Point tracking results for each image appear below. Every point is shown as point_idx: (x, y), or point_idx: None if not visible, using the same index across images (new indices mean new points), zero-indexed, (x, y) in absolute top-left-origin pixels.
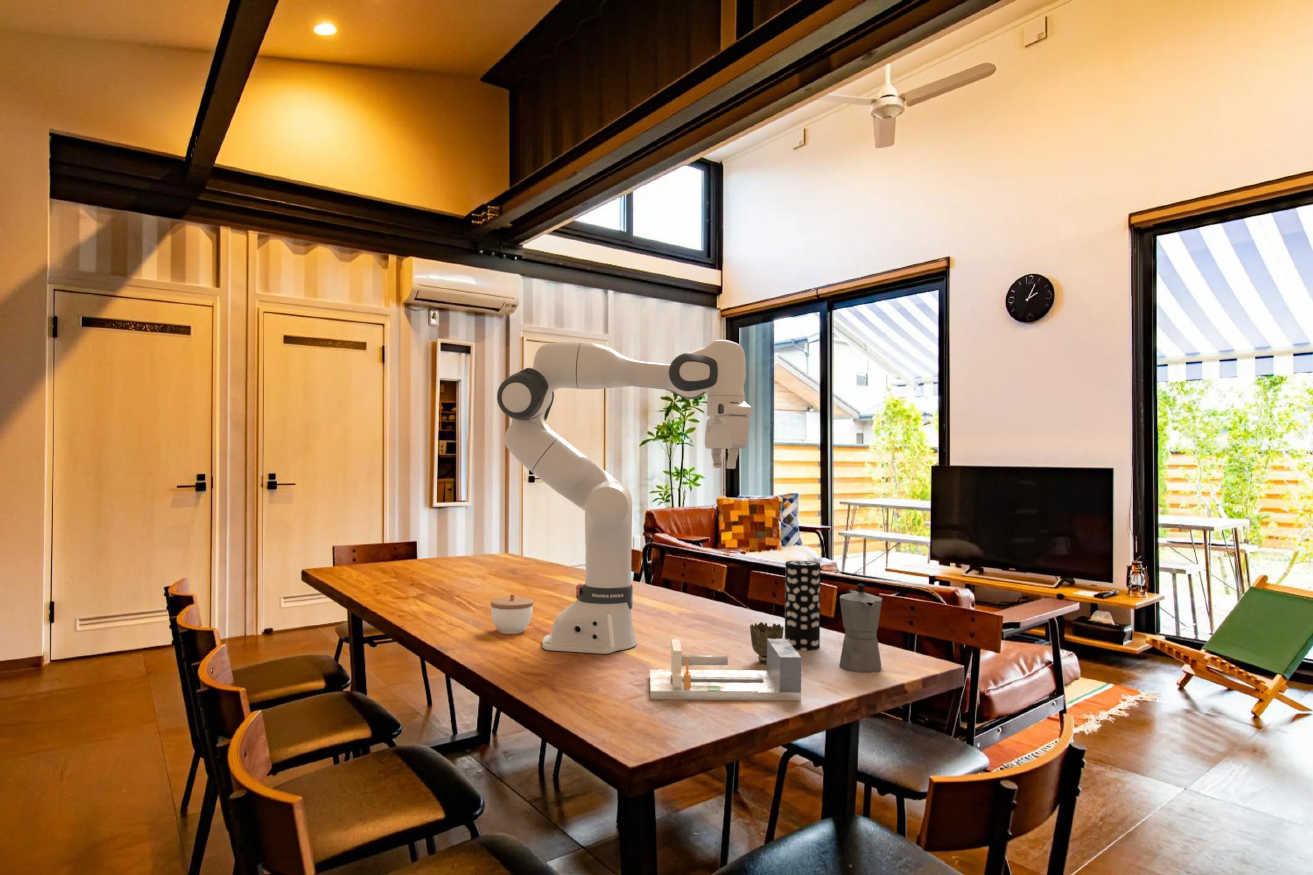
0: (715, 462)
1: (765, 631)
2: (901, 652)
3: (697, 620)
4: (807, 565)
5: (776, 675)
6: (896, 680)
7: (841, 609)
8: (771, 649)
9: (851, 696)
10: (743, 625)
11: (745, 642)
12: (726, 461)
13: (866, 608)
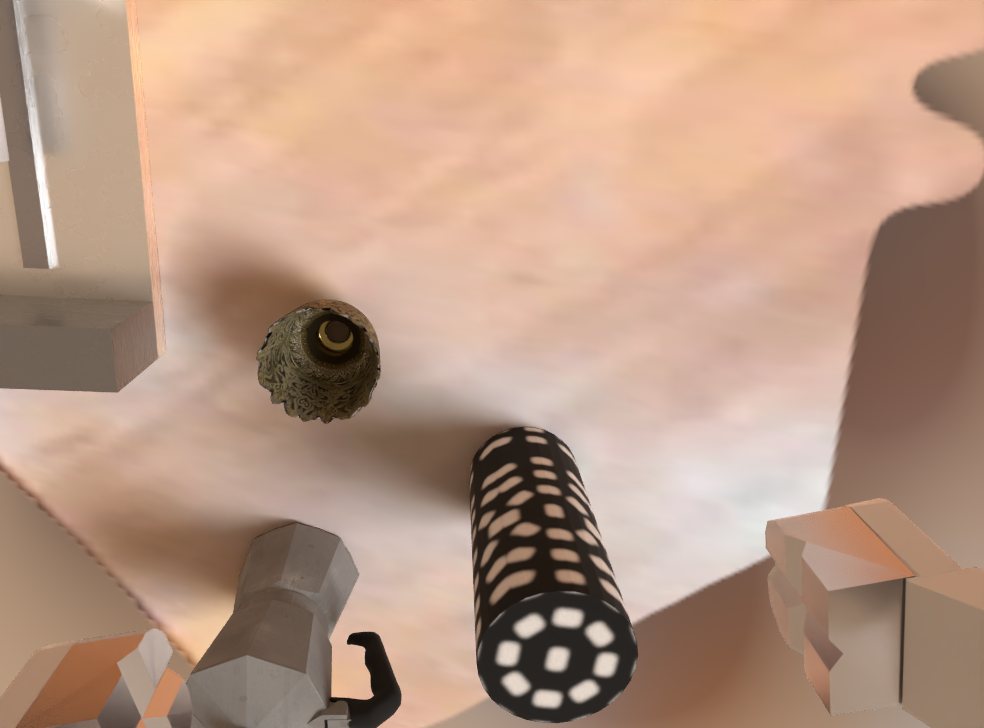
0: (812, 574)
1: (259, 349)
2: (451, 708)
3: (937, 187)
4: (478, 661)
5: None
6: (180, 617)
7: (255, 631)
8: (27, 320)
9: (23, 476)
10: (824, 349)
11: (580, 311)
12: (103, 708)
13: None
